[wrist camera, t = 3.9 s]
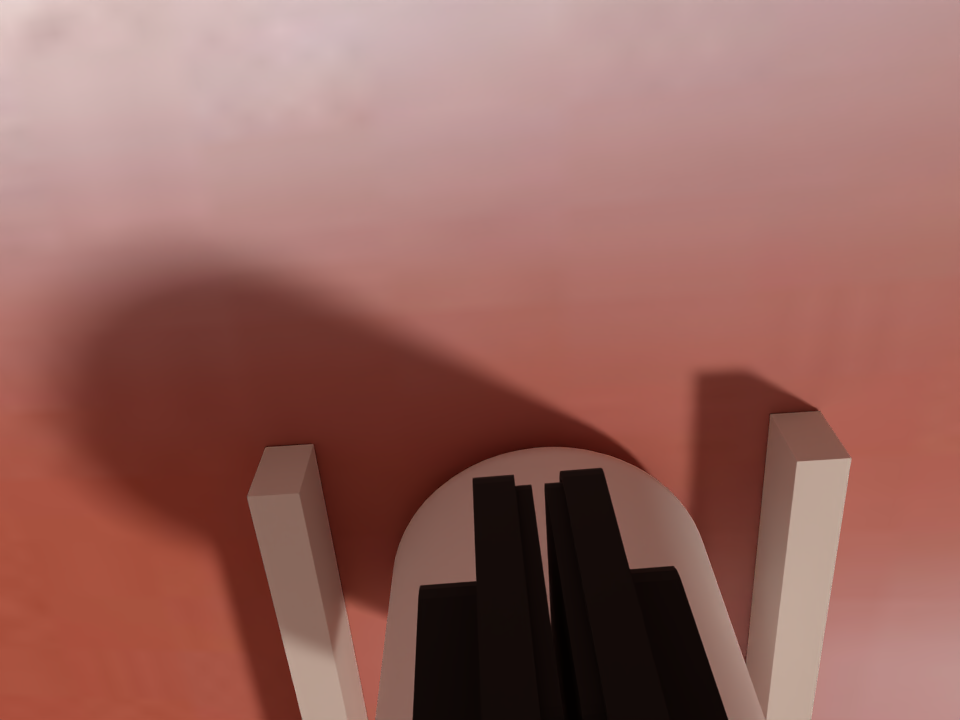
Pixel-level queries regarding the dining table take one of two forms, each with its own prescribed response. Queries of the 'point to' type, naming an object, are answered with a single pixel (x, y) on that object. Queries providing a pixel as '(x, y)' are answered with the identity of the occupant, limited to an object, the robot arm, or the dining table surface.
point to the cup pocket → (776, 591)
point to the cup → (451, 558)
